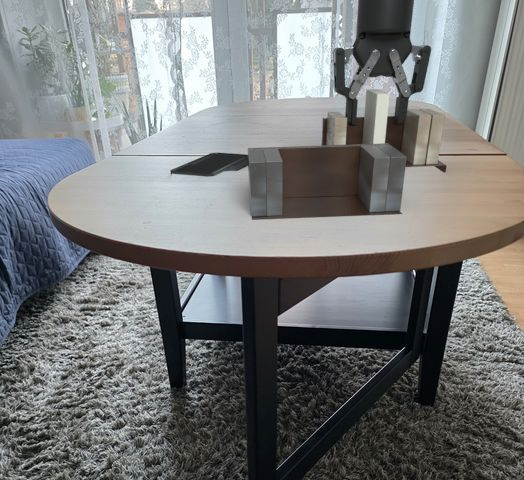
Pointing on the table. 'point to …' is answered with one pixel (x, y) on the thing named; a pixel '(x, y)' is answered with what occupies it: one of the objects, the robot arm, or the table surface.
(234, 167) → the phone
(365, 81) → the robot arm
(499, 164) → the table surface
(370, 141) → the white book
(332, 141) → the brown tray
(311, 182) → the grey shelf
